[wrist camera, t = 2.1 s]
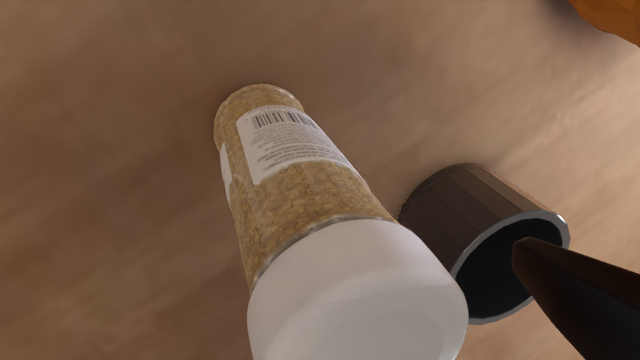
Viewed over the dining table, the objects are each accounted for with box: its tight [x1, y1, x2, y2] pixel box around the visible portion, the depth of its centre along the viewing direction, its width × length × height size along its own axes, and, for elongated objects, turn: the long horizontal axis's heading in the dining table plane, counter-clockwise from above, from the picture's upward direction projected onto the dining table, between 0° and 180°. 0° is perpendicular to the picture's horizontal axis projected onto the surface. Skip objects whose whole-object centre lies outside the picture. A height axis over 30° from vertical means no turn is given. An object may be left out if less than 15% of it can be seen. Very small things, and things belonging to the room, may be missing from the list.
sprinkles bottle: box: [213, 84, 469, 360], centre depth 13 cm, size 5×5×14 cm
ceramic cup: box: [398, 164, 570, 325], centre depth 23 cm, size 8×8×6 cm
